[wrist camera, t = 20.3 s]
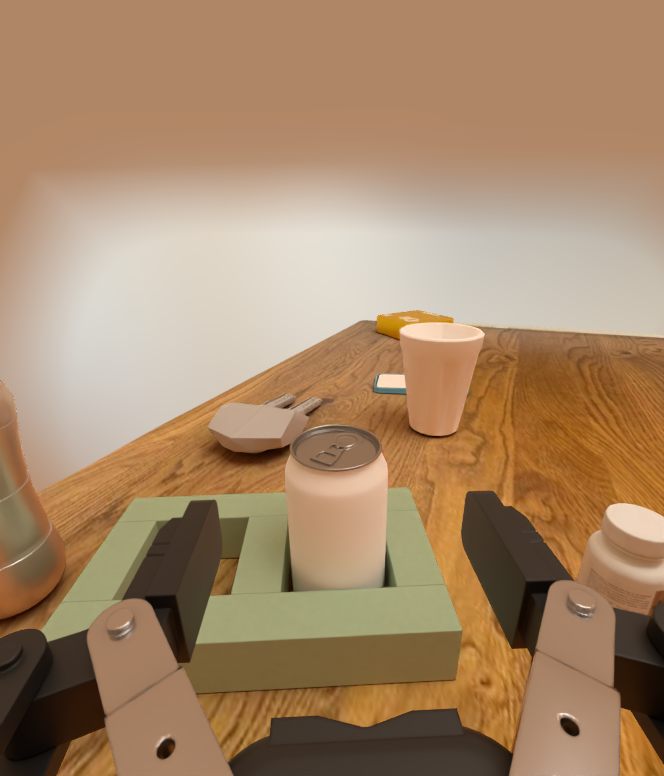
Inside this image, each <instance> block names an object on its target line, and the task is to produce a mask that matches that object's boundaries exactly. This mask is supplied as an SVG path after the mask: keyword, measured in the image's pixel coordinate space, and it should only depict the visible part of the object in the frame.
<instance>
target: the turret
mask: <svg viewBox="0 0 664 776" xmlns="http://www.w3.org/2000/svg"><path fill="white" fill-rule="evenodd" d="M295 399H296V396H291V395H289V394H287V395H285V394H284V395H282V396H280V397H278V398H275V399H273V400H270V401H267V402H265V403H263V404H261V405H259V406H258V405H250V404H243V403H235V402H231V403H228V404H225V405H222V406H221V407H220V408H219V410H218V411H217V413H216V414H215V416H214V418H213V419H212V421H211V422H210V424H209V425H208V429H209V430H210V431H211V432H212V434H213V435H214V436H215V438H216V439H217V440H218V441H219V443H220V444H221V445H222V446H223V447H225V448H227V449H230V450H232V451H234V452H245V453H260V452H263V451H266V450H268V449H275V448H282V447H284V446H286V445H288V444H290V443H291V442H292V440H293V439H294V438H295V437H296V436H297V435H298V434H300V433H302V431H303V430H304V428H305V426H306V424H307V422H308V420H309V418H310V417H308V416H306V414H307V413H308V412H310V411H311V410H313V409H314V408H316V407H317V406H319V405H320V404H321V402H322V399H318V398H317V397H313V398H311V397H309V398H308V399H306V400H304V401H302V402H301V403H299V404H296V405H295V406H293V407H290V408H289V409H282V408H283V407H285V406H287V405H289V404H291V403H292V402H294V401H295Z"/></svg>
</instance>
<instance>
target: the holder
mask: <svg viewBox="0 0 664 776" xmlns="http://www.w3.org/2000/svg"><path fill="white" fill-rule="evenodd" d="M191 500H216V502H217V505H218V512H219V519H220V526H221V533H222V555H221V558H239V562H238V566H237V570H236V574H235V579H234V583H233V587H232V591H231V595H217V596H210V597H209V600H208V604H207V607H206V610H205V614H204V617H203V620H202V624H201V627H200V631H199V634H198V637H197V641H196V644H195V648H194V651H193V654H192V658H191V661H190V663H178V665H179V667H180V666H182V667H183V668H184V670H185V671H186V673H187V676H188V678H189V680H190V682H191V684H192V686H193V689H194V691H195V693H196V694H197V693H215V692H234V691H252V690H271V689H290V688H308V687H327V686H346V685H364V684H383V683H401V682H420V681H439V680H455V679H456V674H457V666H458V659H459V652H460V645H461V637H462V628H461V625H460V622H459V620H458V617H457V614H456V611H455V609H454V606H453V603H452V601H451V598H450V595H449V593H448V590H447V587H446V585H445V582H444V580H443V577H442V574H441V572H440V569H439V566H438V564H437V561H436V558H435V556H434V553H433V550H432V548H431V545H430V542H429V539H428V537H427V534H426V531H425V529H424V526H423V523H422V521H421V518H420V515H419V513H418V511H417V507H416V505H415V502H414V499H413V497H412V494H411V491H410V489H409V487H402V488H388V492H387V523H386V551H385V576H384V583H385V588H366V589H345V590H323V591H302V592H289V580H290V567H291V556H290V543H289V529H288V515H287V501H286V492H277V493H252V494H227V495H202V496H177V497H152V498H134V499H133V501H132V502H131V503H130V505H129V506H128V508H127V509H126V511H125V512H124V513H123V515H122V516H121V518H120V519H119V521H118V523H116V525H115V526H114V528H113V529H112V530H111V532H110V533H109V535H108V536H107V537H106V539H105V540H104V542H103V543H102V545H101V546H100V547H99V549H98V550H97V552H96V553H95V555H94V556H93V557H92V559H91V560H90V562H89V563H88V565H87V566H86V567H85V569H84V570H83V572H82V573H81V575H80V576H79V577H78V579H77V580H76V582H75V583H74V584H73V586H72V587H71V589H70V590H69V592H68V593H67V594H66V596H65V597H64V599H63V600H62V602H61V603H60V604H59V606H58V607H57V609H56V610H55V611H54V613H53V614H52V616H51V617H50V619H49V620H48V621H47V623H46V624H45V626H44V627H43V628H42V630H41V632H43V633H44V635H45V636H46V639H47V641H48V642H49V641H52V640H55V639H59V638H62V637H65V636H68V635H71V634H74V633H78V632H81V631H83V630H86V629H88V628H90V626H91V624H92V623H93V621H94V620H95V619H96V618H97V617H98V616H99V615H100V614H101V613H102V612H103V611H104V610H106V609H107V608H108V607H110V606H112V605H113V604H115V603H118V602H120V601H121V600H122V598H123V597H124V595H125V593H126V591H127V589H128V587H129V585H130V584H131V582H132V580H133V578H134V576H135V574H136V572H137V570H138V569H139V567H140V565H141V563H142V561H143V559H144V557H146V554H147V552H148V550H149V548H150V546H152V542H153V541H154V539H155V537H156V535H157V533H158V531H159V530H160V529H161V528H162V527H163V526H164V525H165V524H166V523H167V522H168V521H169V520H170V519H172V518H177V517H182V516H183V514H184V512H185V510H186V508H187V506H188V504H189V502H190V501H191Z"/></svg>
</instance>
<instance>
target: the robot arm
mask: <svg viewBox="0 0 664 776" xmlns="http://www.w3.org/2000/svg"><path fill="white" fill-rule="evenodd" d="M461 536H462V543H463V547H464V550H465V552H466V554H467V556H468V558H469V560H470V562H471V564H472V567H473V569H474V571H475V573H476V575H477V577H478V579H479V581H480V583H481V585H482V588H483V590H484V592H485V594H486V596H487V598H488V600H489V602H490V604H491V606H492V608H493V611H494V613H495V615H496V617H497V619H498V621H499V623H500V625H501V627H502V629H503V632H504V634H505V636H506V638H507V640H508V642H509V644H510V646H511V648H512V649H518V648H527V649H528V651H529V652H530V654H531V656H532V659H531V663H530V668H529V672H528V677H527V681H526V686H525V690H524V695H523V699H522V703H521V708H520V712H519V717H518V721H517V726H516V730H515V735H514V739H513V743H512V747H511V751H508V750H507V749H506V748H505V747H504V746H502V745H501V744H499V743H498V742H496V741H495V740H493V739H492V738H490V737H488V736H486V735H484V734H482V733H480V732H478V731H475V730H473V729H470V728H467V727H464V726H462V724H461V721H460V718H459V714H458V711H457V708H455V709H436V710H417V711H410V712H407V713H405V714H402V715H399V716H397V717H394V718H391V719H389V720H386V721H383V722H381V723H378V724H376V725H373V726H370V727H360V726H356V725H352V724H348V723H344V722H340V721H336V720H332V719H328V718H324V717H321V716H303V717H284V718H271V728H270V736H267V737H265V738H262V739H260V740H258V741H256V742H255V743H253V744H251V745H249V746H248V747H246V748H245V749H244V750H242V751H241V752H239V753H238V754H237V755H236V756H235V757H234V758H233V759H231V760H230V761H229V762H227V760H226V758H225V756H224V754H223V752H222V749H221V747H220V745H219V743H218V741H217V739H216V736H215V734H214V732H213V730H212V728H211V725H210V723H209V721H208V719H207V717H206V715H205V712H204V710H203V708H202V706H201V704H200V702H199V699H198V697H197V695H196V693H195V691H194V689H193V686H192V684H191V682H190V680H189V678H188V676H187V673H186V671H185V670H184V668H183V667H182V666H180V667H179V665H178V663H190V661H191V658H192V654H193V651H194V648H195V644H196V641H197V637H198V634H199V631H200V627H201V624H202V620H203V617H204V614H205V610H206V607H207V604H208V600H209V597H210V593H211V590H212V587H213V583H214V580H215V577H216V573H217V570H218V566H219V563H220V560H221V555H222V533H221V526H220V519H219V512H218V505H217V502H216V500H191V501H190V502H189V504H188V506H187V508H186V510H185V512H184V514H183V516H182V517H177V518H172V519H170V520H169V521H168V522H167V523H166V524H165V525H164V526H163V527H162V528H161V529H160V530H159V531H158V533H157V535H156V537H155V539H154V541H153V542H152V546H150V548H149V550H148V552H147V554H146V557H144V559H143V561H142V563H141V565H140V567H139V569H138V570H137V572H136V574H135V576H134V578H133V580H132V582H131V584H130V585H129V587H128V589H127V591H126V593H125V595H124V597H123V598H122V600H121V601H120V602H118V603H115V604H113V605H112V606H110V607H108V608H107V609H106V610H104V611H103V612H102V613H101V614H100V615H99V616H98V617H97V618H96V619H95V620H94V621H93V623H92V624H91V626H90V628H88V629H86V630H83V631H81V632H78V633H74V634H71V635H68V636H65V637H62V638H59V639H55V640H52V641H49V642H48V641H47V639H46V636H45V635H44V633H43V632H41V631H39V630H36V629H25V630H20V631H16V632H14V633H11V634H9V635H7V636H4V637H2V638H1V639H0V776H56V775H57V772H58V770H59V768H60V765H61V763H62V761H63V758H64V756H65V754H66V752H67V749H68V747H69V745H70V742H71V741H72V740H74V739H77V738H79V737H82V736H84V735H87V734H89V733H92V732H94V731H97V730H99V729H102V728H104V727H106V730H107V734H108V738H109V742H110V746H111V750H112V755H113V759H114V763H115V767H116V771H117V775H118V776H620V707H621V708H624V709H627V710H631V712H632V713H633V715H634V717H635V718H636V720H637V722H638V723H639V725H640V726H641V728H642V730H643V731H644V733H645V735H646V736H647V738H648V740H649V741H650V743H651V744H652V746H653V748H654V749H655V751H656V753H657V754H658V756H659V758H660V759H661V761H662V762H663V764H664V602H662V603H659V604H657V605H656V606H655V607H654V609H653V612H652V614H651V616H649V615H644V614H640V613H635V612H631V611H626V610H622V609H618V608H614V607H612V606H611V605H610V603H609V602H608V601H607V600H606V599H605V598H604V597H603V596H602V595H601V594H600V593H598V592H597V591H596V590H594V589H592V588H591V587H589V586H587V585H584V584H582V583H579V582H575V581H574V580H573V579H572V577H571V576H570V575H569V573H568V572H567V571H566V569H565V568H564V567H563V565H562V564H561V563H560V561H559V560H558V559H557V557H556V556H555V555H554V553H553V552H552V551H551V549H550V548H549V547H548V545H547V544H546V543H544V542H543V539H542V538H541V536H540V535H539V534H538V532H536V531H535V528H534V527H533V526H532V524H531V523H530V522H529V520H528V519H527V518H526V517H525V516H524V515H523V514H521V513H520V512H519V511H517V510H516V509H514V508H513V507H512V506H504V505H503V504H502V502H501V501H500V499H499V498H498V497H497V495H496V494H495V493H494V492H493V491H469V492H467V494H466V499H465V506H464V514H463V522H462V530H461Z"/></svg>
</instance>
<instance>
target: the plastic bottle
mask: <svg viewBox="0 0 664 776" xmlns="http://www.w3.org/2000/svg"><path fill="white" fill-rule="evenodd" d="M16 410H17V409H16V405H15V401H14V396H13V395H12V393H11V392H10V391H9V389H8V388H7V387H6V385H5V384H4V383H3V382H2V381H1V380H0V619H4V618H8V617H11V616H14V615H17V614H19V613H21V612H23V611H25V610H27V609H29V608H31V607H32V606H34V605H36V604H37V603H39V602H40V601H41V600H42V599H44V598H45V597H46V596H47V595H48V594H49V593H50V592H51V591H52V590H53V589H54V588H55V586H56V585H57V584H58V582H59V580H60V578H61V576H62V574H63V572H64V569H65V566H66V556H65V545H64V542H63V540H62V538H61V536H60V535H59V533H58V531H57V529H56V527H55V526H54V525H53V523H52V522H51V521H50V520H49V519H48V517H47V515H46V513H45V511H44V509H43V507H42V505H41V503H40V501H39V498H38V496H37V494H36V492H35V490H34V488H33V486H32V482H31V479H30V475H29V473H28V471H27V469H28V468H27V464H26V460H25V457H24V453H23V450H22V443H21V436H20V430H19V423H18V416H17V413H16Z"/></svg>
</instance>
